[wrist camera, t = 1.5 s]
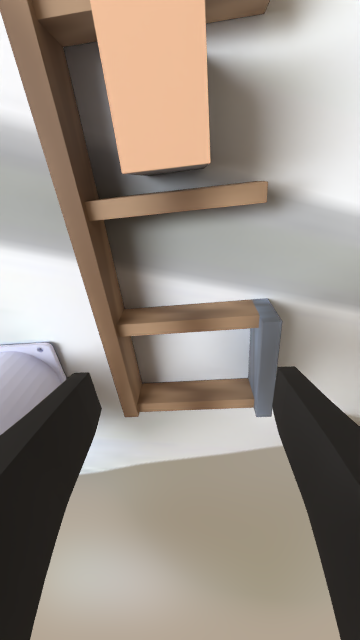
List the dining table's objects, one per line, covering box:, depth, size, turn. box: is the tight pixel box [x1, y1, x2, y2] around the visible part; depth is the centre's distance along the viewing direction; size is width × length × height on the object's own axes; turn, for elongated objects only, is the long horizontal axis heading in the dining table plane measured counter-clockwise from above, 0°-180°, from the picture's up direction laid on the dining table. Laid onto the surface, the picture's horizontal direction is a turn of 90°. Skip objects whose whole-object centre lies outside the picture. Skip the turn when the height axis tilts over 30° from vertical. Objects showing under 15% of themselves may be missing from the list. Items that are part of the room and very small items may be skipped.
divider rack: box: [0, 0, 282, 417], centre depth 16 cm, size 12×25×4 cm, turn 6°
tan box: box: [90, 0, 210, 175], centre depth 11 cm, size 4×5×6 cm
